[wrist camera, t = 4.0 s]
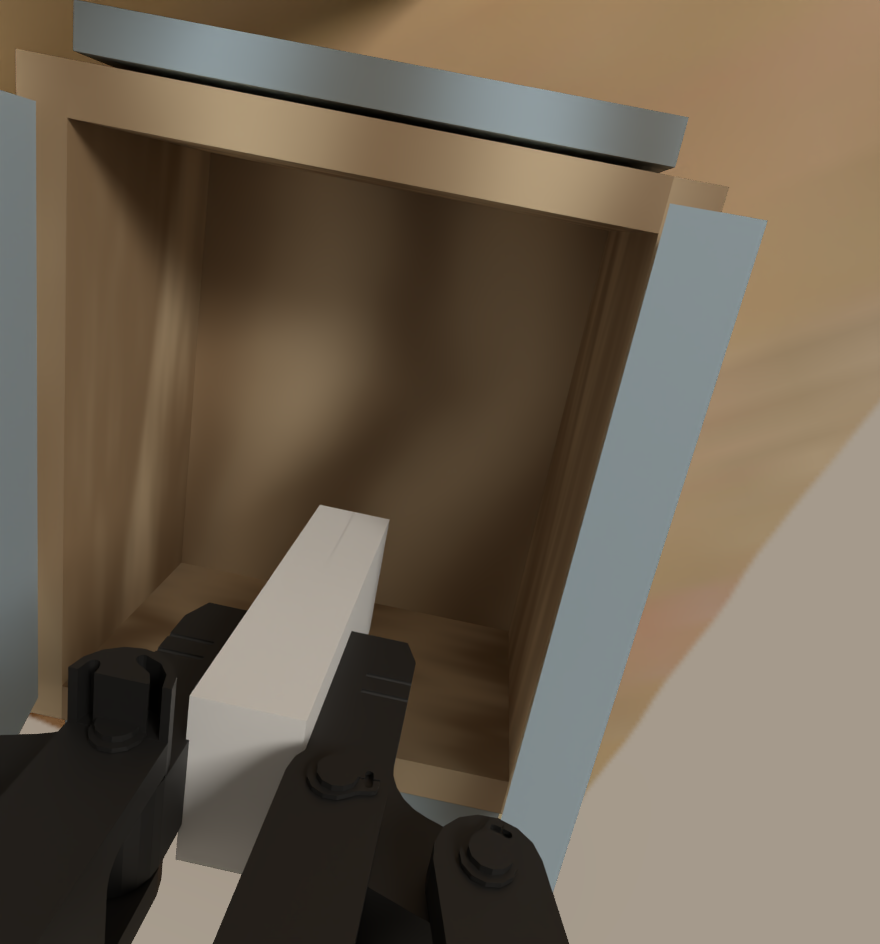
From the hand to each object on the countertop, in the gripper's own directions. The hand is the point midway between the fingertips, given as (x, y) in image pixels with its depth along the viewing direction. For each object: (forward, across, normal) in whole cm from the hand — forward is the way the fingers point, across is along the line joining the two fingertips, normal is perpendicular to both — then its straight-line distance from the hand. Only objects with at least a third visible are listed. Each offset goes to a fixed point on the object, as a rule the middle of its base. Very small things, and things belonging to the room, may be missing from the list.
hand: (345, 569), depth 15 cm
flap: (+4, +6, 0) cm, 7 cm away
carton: (+13, -2, 0) cm, 13 cm away
